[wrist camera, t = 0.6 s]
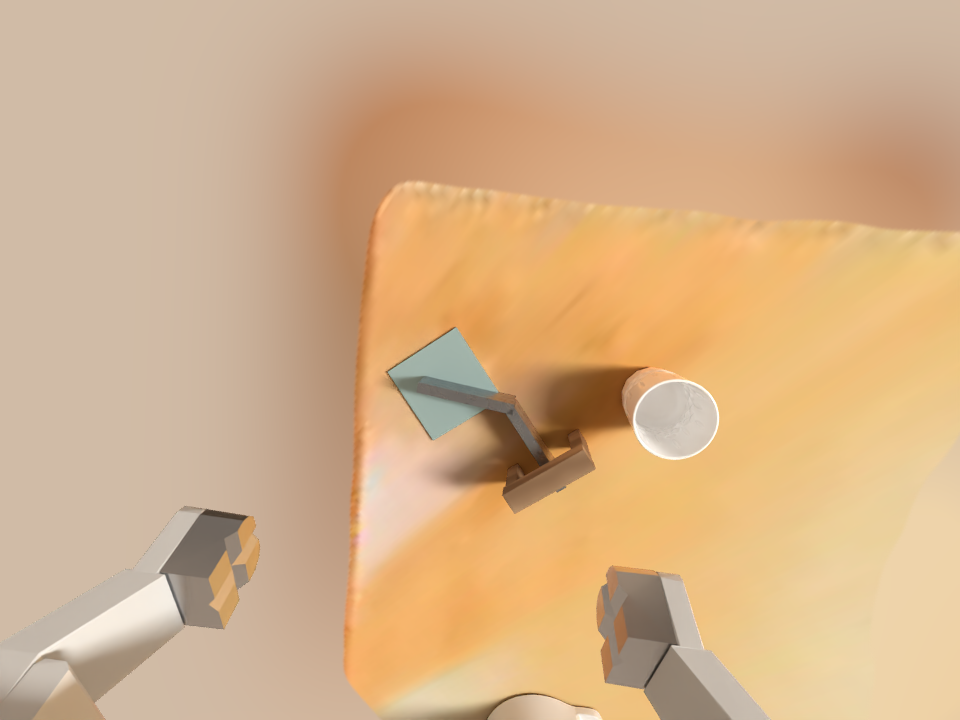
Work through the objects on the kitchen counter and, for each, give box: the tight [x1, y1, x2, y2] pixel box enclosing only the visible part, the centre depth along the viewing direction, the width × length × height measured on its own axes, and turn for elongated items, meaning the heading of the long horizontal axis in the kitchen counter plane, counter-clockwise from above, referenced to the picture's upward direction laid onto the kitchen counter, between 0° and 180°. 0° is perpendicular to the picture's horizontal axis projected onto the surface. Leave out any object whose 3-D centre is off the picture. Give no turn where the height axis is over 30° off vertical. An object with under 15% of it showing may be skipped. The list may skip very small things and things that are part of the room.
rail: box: [417, 376, 566, 492], centre depth 57 cm, size 19×9×4 cm, turn 33°
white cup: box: [622, 367, 719, 460], centre depth 51 cm, size 8×8×10 cm
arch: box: [502, 429, 595, 514], centre depth 55 cm, size 2×10×8 cm, turn 123°
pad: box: [388, 327, 498, 440], centre depth 59 cm, size 10×10×1 cm
